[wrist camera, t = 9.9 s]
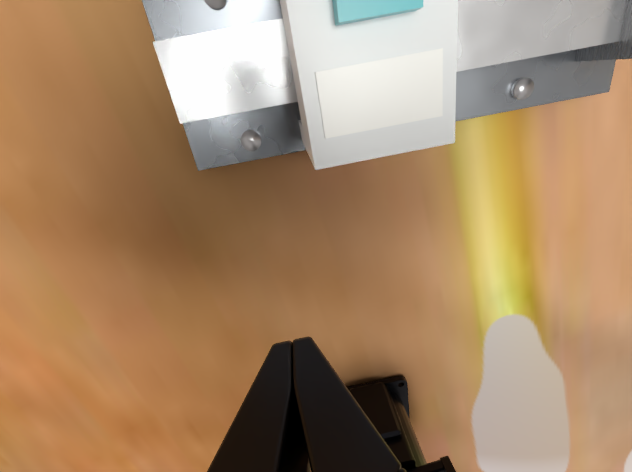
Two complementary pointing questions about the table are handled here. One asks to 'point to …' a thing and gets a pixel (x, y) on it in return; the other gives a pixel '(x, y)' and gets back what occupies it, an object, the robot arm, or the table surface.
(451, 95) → the module
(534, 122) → the table surface
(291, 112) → the rail panel
